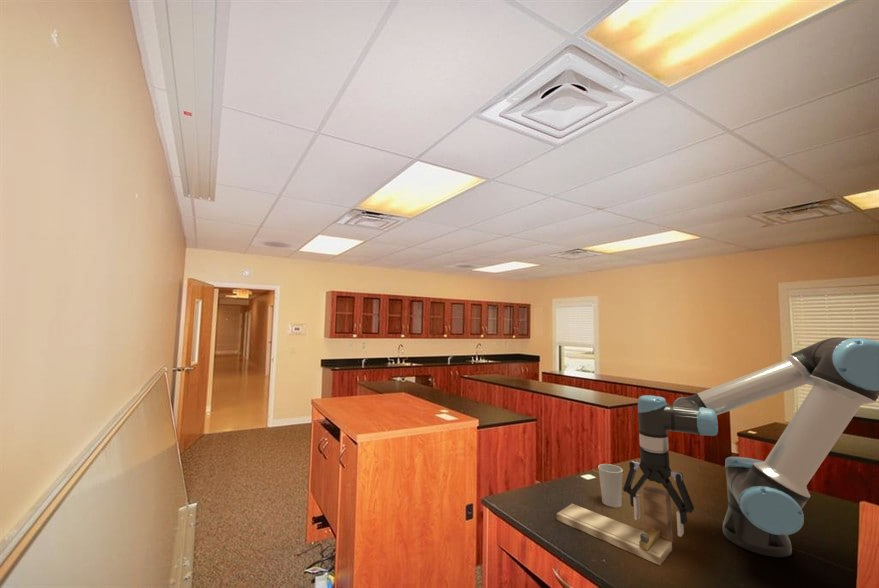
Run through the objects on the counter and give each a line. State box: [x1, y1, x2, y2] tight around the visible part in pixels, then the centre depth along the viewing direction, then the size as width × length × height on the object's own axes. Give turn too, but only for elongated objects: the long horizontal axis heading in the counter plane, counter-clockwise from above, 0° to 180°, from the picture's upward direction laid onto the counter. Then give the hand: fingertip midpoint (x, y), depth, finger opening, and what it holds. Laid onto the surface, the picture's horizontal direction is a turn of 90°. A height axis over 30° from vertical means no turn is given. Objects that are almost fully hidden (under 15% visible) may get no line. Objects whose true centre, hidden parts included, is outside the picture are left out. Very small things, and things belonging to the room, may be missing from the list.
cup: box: [597, 463, 624, 508], centre depth 128 cm, size 8×8×12 cm
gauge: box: [639, 485, 674, 551], centre depth 103 cm, size 6×14×14 cm, turn 132°
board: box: [556, 503, 673, 566], centre depth 109 cm, size 30×10×2 cm, turn 41°
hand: (658, 526), depth 106 cm, fingers open, 11 cm apart
